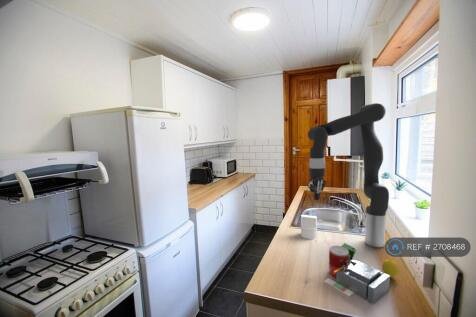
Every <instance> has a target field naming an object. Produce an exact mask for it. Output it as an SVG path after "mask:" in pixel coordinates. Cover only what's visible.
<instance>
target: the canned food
mask: <svg viewBox="0 0 476 317" xmlns="http://www.w3.org/2000/svg"><path fill="white" fill-rule="evenodd" d="M341 246H342V245H331V246H330V247H329V250H328V251H329V253H328V272H329V274H330V275H331V276H332V277H333V278H335V279H336V277H337V273H334V271H335V270H337V269H338V268H340V267H342V266H343V265H345V266H346V267H348V266H349V264H350V263H349V262H350V259H349V251H348V250H347V249H346V248H344V247H341Z"/></svg>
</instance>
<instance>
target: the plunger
mask: <svg viewBox="0 0 476 317" xmlns="http://www.w3.org/2000/svg"><path fill="white" fill-rule="evenodd" d="M352 266H353V264H352V263H351V262H350V263H349V266H348V267H346V266H345V265H343V266H342V267H340V268H338V269H337V270H335V271H334V273H337V272H339V271H340V270H342V269H343V270H345V271H347V272H349V268H351V267H352Z"/></svg>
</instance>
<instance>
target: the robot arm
mask: <svg viewBox="0 0 476 317" xmlns="http://www.w3.org/2000/svg"><path fill="white" fill-rule="evenodd" d="M386 111H387V110H386V107H385V105H383V104H381V103H377V102H376V103H370V104H365V105H363V106H360V108H359V111H358V112H356V113H353V114H350V115H349V114H348V115H347V116H341V117H339V118H336V119H334V120H331V121H329V122H327V123H323V124H319V125H317V126H313V127H311V128H310V129H309V130H308V131H307V137H308V139H309V140H310V141H313V144H312V146H311V147H310V148H309V164H308V166H309V176H310V182H309V183H307V184H306V186H307V188H308V189H309V191H310V192H311V193H313V199H314V201H320V199H321V192H323V191H324V189H325V186H326V184H327V180H325V179H324V177H325V175H326V159H325V151H326V146H327V142H328V137H329V136H335V135H338V134H340V133H344V132H346V131H348V130H351V129H354V128H356V127H359V126H360V127H359V128H360V131H361V143H362V159H363V172H364V174H363V175H364V176H363V177H364V178H363V193H364V196H365V197H366V198H367V199H370V204H369V205H368V206H366V207H365V226H364V227H365V228H364V229H365V230H364V242H365V244H366V245H368V246H370V247H374V248H383V247H385V238H386V237H385V236H386V218H387V217H386V216H387V212H388V209H389V201H390V191H389V189H388V187H386V186H385V185H382V184H380V182H379V172H380V169H381V167H382V164H383V162H384V148H383V145H382V144H383V143H382V142H381V140H380V138H379V136H378V134H377V133H376V130H375V122H380V121H381V120H383V119H384V117H385V115H386V113H387V112H386Z"/></svg>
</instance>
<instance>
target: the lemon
mask: <svg viewBox="0 0 476 317" xmlns="http://www.w3.org/2000/svg"><path fill="white" fill-rule="evenodd" d="M381 266H382V272H383V274H384V273H385V274H387V275H389V276H390V278H395V277H397V275H398V273H399V267H398V264H397V262H395V260H393V259H391V258H389V259H385V260H384V261H383V262H382V264H381Z"/></svg>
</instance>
